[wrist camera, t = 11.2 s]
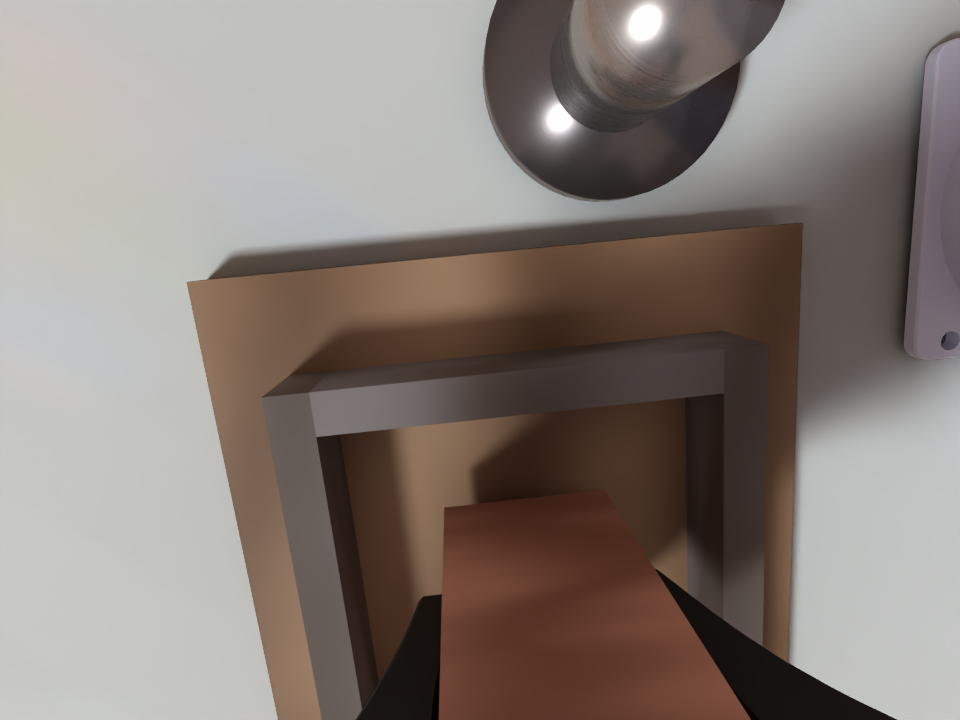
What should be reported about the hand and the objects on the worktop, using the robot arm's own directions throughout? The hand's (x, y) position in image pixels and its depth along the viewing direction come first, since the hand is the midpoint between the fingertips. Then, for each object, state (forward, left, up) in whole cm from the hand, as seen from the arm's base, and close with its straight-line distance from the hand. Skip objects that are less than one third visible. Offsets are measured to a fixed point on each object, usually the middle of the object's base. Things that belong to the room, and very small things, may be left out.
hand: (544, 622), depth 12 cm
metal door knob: (-3, -12, -4) cm, 13 cm away
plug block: (0, 0, -2) cm, 2 cm away
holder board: (0, 0, -4) cm, 4 cm away
